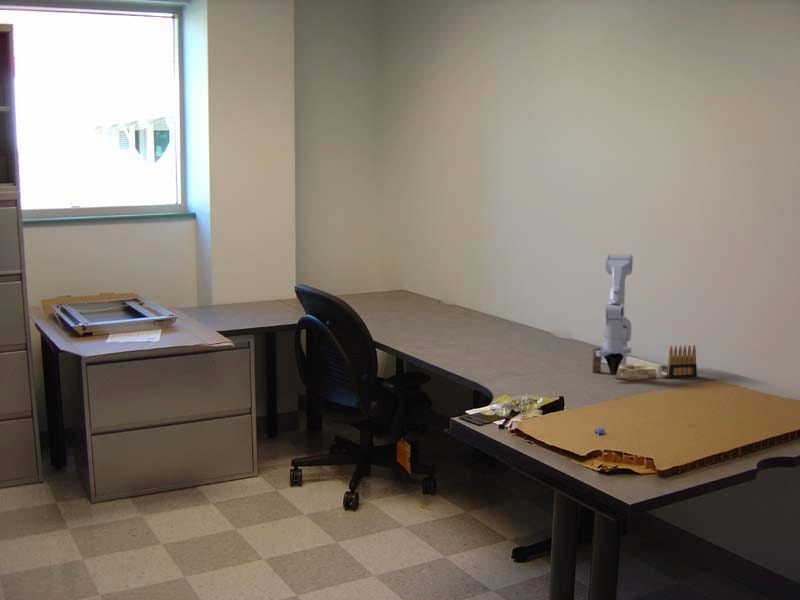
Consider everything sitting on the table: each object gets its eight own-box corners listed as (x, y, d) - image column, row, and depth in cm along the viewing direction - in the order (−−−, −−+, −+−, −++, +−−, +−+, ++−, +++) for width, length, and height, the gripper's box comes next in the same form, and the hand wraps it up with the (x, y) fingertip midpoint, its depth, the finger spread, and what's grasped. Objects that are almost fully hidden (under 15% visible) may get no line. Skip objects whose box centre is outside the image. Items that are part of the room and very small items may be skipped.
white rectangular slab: (626, 368, 329) (626, 356, 328) (637, 366, 331) (637, 355, 331) (658, 378, 313) (658, 365, 312) (670, 376, 315) (670, 364, 314)
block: (611, 373, 320) (611, 366, 319) (634, 370, 324) (635, 363, 324) (630, 380, 310) (630, 372, 310) (654, 376, 314) (654, 368, 314)
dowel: (590, 372, 323) (591, 348, 322) (597, 371, 325) (597, 347, 323) (595, 373, 321) (596, 350, 320) (602, 372, 322) (602, 349, 321)
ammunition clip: (668, 378, 312) (669, 346, 310) (666, 377, 314) (667, 345, 312) (696, 377, 313) (698, 345, 311) (694, 376, 315) (695, 344, 313)
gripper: (605, 341, 305) (604, 378, 307) (637, 337, 311) (636, 374, 313) (592, 337, 311) (591, 374, 313) (624, 334, 317) (623, 370, 319)
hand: (613, 374), depth 313 cm, fingers closed
